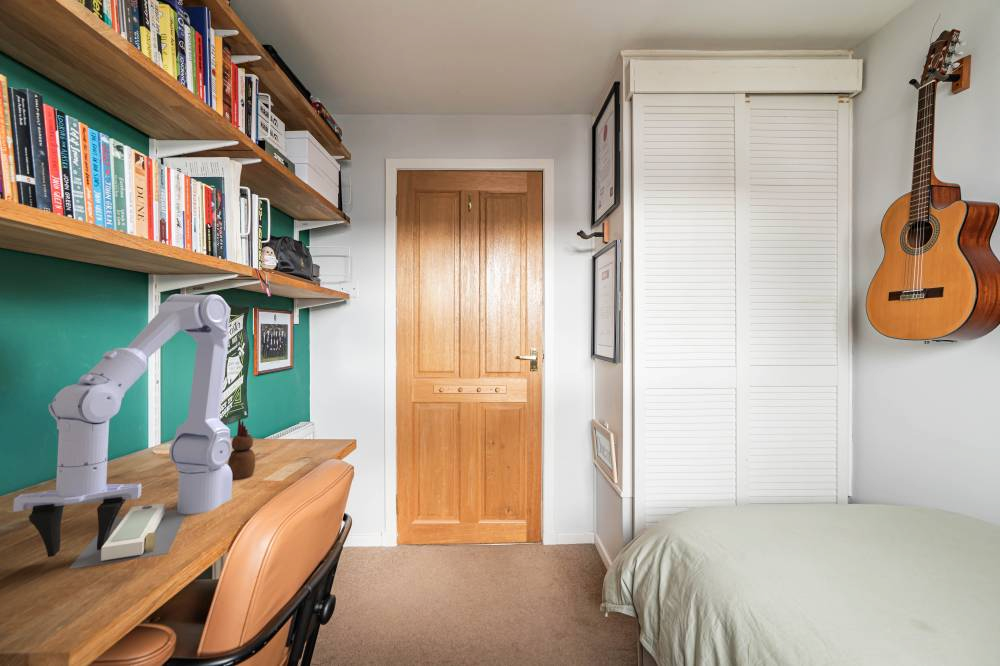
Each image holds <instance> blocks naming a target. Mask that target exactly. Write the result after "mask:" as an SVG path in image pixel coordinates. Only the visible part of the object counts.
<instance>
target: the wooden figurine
mask: <svg viewBox="0 0 1000 666" xmlns="http://www.w3.org/2000/svg"><path fill="white" fill-rule="evenodd" d="M253 444H254V437H253V436H252V434H249V431H248V429H247V426H246V425H244V421H242V420H241V418H238V423H237V433H236V435H234V436H233V438H232V440H231V446H232V449H233V450H231V455H230V457H229V459H228V460H227V465H228V466H229V467H230V468H231V471H232V480H244V479H249V478H251V477H253V475H254V472H255V469H256V467H255V466H256V457H255V452H254V451H253V450H252V449H251V448H252V447H253Z"/></svg>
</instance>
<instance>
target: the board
mask: <svg viewBox="0 0 1000 666" xmlns="http://www.w3.org/2000/svg"><path fill="white" fill-rule="evenodd" d="M186 515H187V514H182V513H179V512H178V511H177V508H176V509H169V510H165V514H164V515H163V517H162V519H161V521H160V523H159V525H158V526H157V528H156V530H155V532H153V533H148V534H147V536H146V548H145V550H144V552H143V554H141V555H135V556H128V557H122V558H115V559H109V560H103V561H101V550H97V539H98V533H97V534H96V535H95V537H94V538H93V539H92V540H91V542H90V543H89V544H87V546H86V547H85V548H84V549H83V551H82V552H81V553H80V555H79V556H78V557H77V558H76V559H75V560H74V562H73V563H72V564H71V565H70V567H69V568H68V570H72V569H73V570H74V569H79V568H85V567H92V566H99V565H104V564H111V563H117V562H125V561H129V560H130V561H131V560H136V559H137V560H138V559H142V558H149V557H155V556H156V557H157V556H162V555H168V554H169V552H170V550H171V548H172V545H173V543H174V541H175V540H176V536H177V534H178V533H179V529H180V528H181V525H182V523H183V521H184V520H185V516H186ZM125 516H126V515H120V516H116V518H115V520H114V523H113V525H112V527H111V530H110V533H109V537H110V536H111V534H112V533H113V532H114V530H115V529H116V528H117V526H118V525H119V524H120V522H121V521H122V520H123V518H124V517H125ZM109 537H108V538H109Z"/></svg>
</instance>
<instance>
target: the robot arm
mask: <svg viewBox="0 0 1000 666" xmlns="http://www.w3.org/2000/svg"><path fill="white" fill-rule="evenodd" d="M231 310H232V308H231V307H230V306H229V305H228V303H227V302H226V301H225V299H224V298H223V297H222V296H220V295H218V294H215V293H214V294H213V293H212V294H182V293H180V294H179V293H175V294H171V295H169V296H168V297H167V298H166V299H165V301H163V302H162V303H160V304H159V305H158V312H157V314H156V315H154V317H153V318H152V319H151V320H150V321H149V322H148V324H147V325H146V326H145V327H144V328H143V329H142V330H141V331H140V332H139V333H138V334H137V336H136V337H135V338H134V339H133V340H132V341H131V342H130V343H129V344H128V346H127V347H117V348H114V349H112V350H107V351H106V352H104V353H103V354H102V355H101V357H102V359H101V360H100V361H99V362H98V363H97V364H96V365H95V366H94V367H93V368H92V369H90V370H89V371H88V373H86V374H83V375H81V376H80V377H79V380H78V382H77V384H71V385H66V386H65V387H64V388H63V387H62V389H60V391H58V392H57V393H56V395H55V396H54V398H53V400H52V402H51V403H48V411H49V413H50V415H51V416H52V417H53V418H54V420H56V421H55V422H56V430H58V441H57V442H58V443H57V445H58V446H57V462H56V463H57V465H56V481H55V484H56V485H55V489H52V490H45V491H39V492H32V493H31V492H30V493H24V494H23V493H22V494H19V495H17V496H16V497H15V498H13V506H12V507H13V509H12V512H13V513H14V512H15V513H16V512H23V511H25V510H30V509H32V511H31V513H30V514H29V515H28V519H29V522H30V523H31V525H33V527H35V529H36V530H37V532H38V533H39V535H40V537H41V539H42V541H43V544H44V547H45V550H46V554H47V558H51V557H55V556H56V555H57V554H58V552H60V548H61V525H62V520H63V519H62V518H63V512H64V507H65V506H69V505H77V504H88V503H98V502H102V503H101V504H100V505H98V506H97V507H96V512H97V520H98V521H97V522H98V523H97V524H98V533H97V534H98V539H97V550H101V548H102V546H103V545H104V544H105V542H106V541H107V540H108V537H109V533H110V530H111V527H112V525H113V523H114V520H115V518H116V517H118V514H119V512H120V510H121V508H122V507H123V505H124V503H125V502H126V499H130V500H138V499H139V498H140V497H141V496H142V483H126V484H125V483H124V484H123V483H122V484H121V483H120V484H119V483H118V484H116V483H115V484H111V483H109V484H107V477H108V476H107V473H108V454H109V453H108V452H109V450H108V449H109V434H110V432H109V431H110V430H109V429H110V420H111V419H112V418H113V417H114V416H116V415H117V414H118V413H119V412H120V409H121V405H122V399H123V398H124V397H125V396H126V395H125V394H126V392H128V390H129V389H130V388H131V387H132V386H133V385H134V383H136V382H137V381H138V380H139V379H140V378H141V377H142V375H143V374H144V373H145V372H147V370H148V359H149V358H150V357H151V356H152V355H154V353H156V352H157V351H158V350H159V349H160V348H161V347H162V346H164V345H165V344H166V343H167V342H168V341H169V340H171V338H172V337H174V335H176V334H177V333H178V332H180V331H182V332H184V333H186V334H187V335H189V336H191V338H192V339H193V340H194V341H195V343H196V350H195V359H194V366H193V374H192V380H191V381H192V382H191V389H190V397H189V406H188V414H187V415H188V416H187V420H185V421H184V422H183V423H182V424H180V425H179V426H178V427H177V428H176V429H175V434H174V438H173V440H172V442H171V444H170V446H169V451H168V454H169V455H168V457H169V460H170V461H171V462H172V463H173V464H175V469H176V470H178V479H177V481H178V482H177V506H176V507H177V508H176V509H177V511H178V512H179V513H182V514H186V515H197V514H198V515H199V514H202V513H207V512H210V511H213V510H216V509H218V508H219V507H220V506H221V505H223V504H225V503H227V502H229V501H231V500H232V495H233V493H232V492H233V479H232V471H231V468H230V467H229V466H228V460H229V457H230V455H231V452H232V451H233V450H232V449H233V448H232V440H231V429H230V428H229V427H228V426H227V425H226V424H224V423H223V422H222V421H221V420H220V419H221V418H220V417H221V408H222V397H223V392H224V382H225V373H226V367H227V366H226V365H227V357H228V356H227V355H228V349H229V338H230V333H229V328H230V318H231Z"/></svg>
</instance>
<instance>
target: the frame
mask: <svg viewBox="0 0 1000 666" xmlns="http://www.w3.org/2000/svg"><path fill="white" fill-rule="evenodd" d="M165 508H166V503H156V504H155V503H153V504H147V505H139V506H132V507H131V508H130V509H129V510H128V512H127V513H126V514H125V515H124V516H125V517H124V518H123V520H122V521H121V522H120V524H119V525H118V526H117V528H116V529H115V530H114V532H113V533H112V534H111V536H110V537H109V538H108V540H107V541H106V542H105V544H104V545H103V546H102V548H101V561H103V560H109V559H115V558H122V557H128V556H135V555H141V554H143V552H144V550H145V548H146V536H147V534H148V533H153V532H155V530H156V528H157V526H158V525H159V523H160V521H161V519H162V517H163V515H164V514H165V511H166V510H165Z"/></svg>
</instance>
